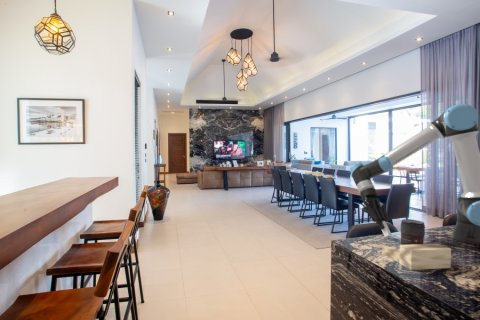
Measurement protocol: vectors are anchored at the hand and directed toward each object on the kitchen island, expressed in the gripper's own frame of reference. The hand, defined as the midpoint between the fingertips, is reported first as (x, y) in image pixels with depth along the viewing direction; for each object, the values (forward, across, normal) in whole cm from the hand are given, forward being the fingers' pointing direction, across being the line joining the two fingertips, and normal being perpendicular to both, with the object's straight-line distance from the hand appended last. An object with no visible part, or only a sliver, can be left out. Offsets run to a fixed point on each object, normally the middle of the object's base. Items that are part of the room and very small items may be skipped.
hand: (388, 235), depth 126 cm
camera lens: (+13, +3, +8) cm, 16 cm away
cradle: (+14, +4, +9) cm, 17 cm away
